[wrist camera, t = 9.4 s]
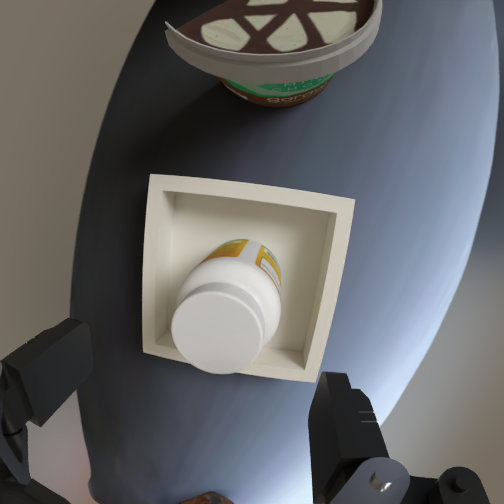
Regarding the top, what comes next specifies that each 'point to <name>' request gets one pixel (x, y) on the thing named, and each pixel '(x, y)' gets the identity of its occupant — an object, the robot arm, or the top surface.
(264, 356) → the tray
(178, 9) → the top surface
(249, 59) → the ice cream tub
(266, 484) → the top surface
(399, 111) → the top surface
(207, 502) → the tin
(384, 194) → the top surface
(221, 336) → the supplement bottle
